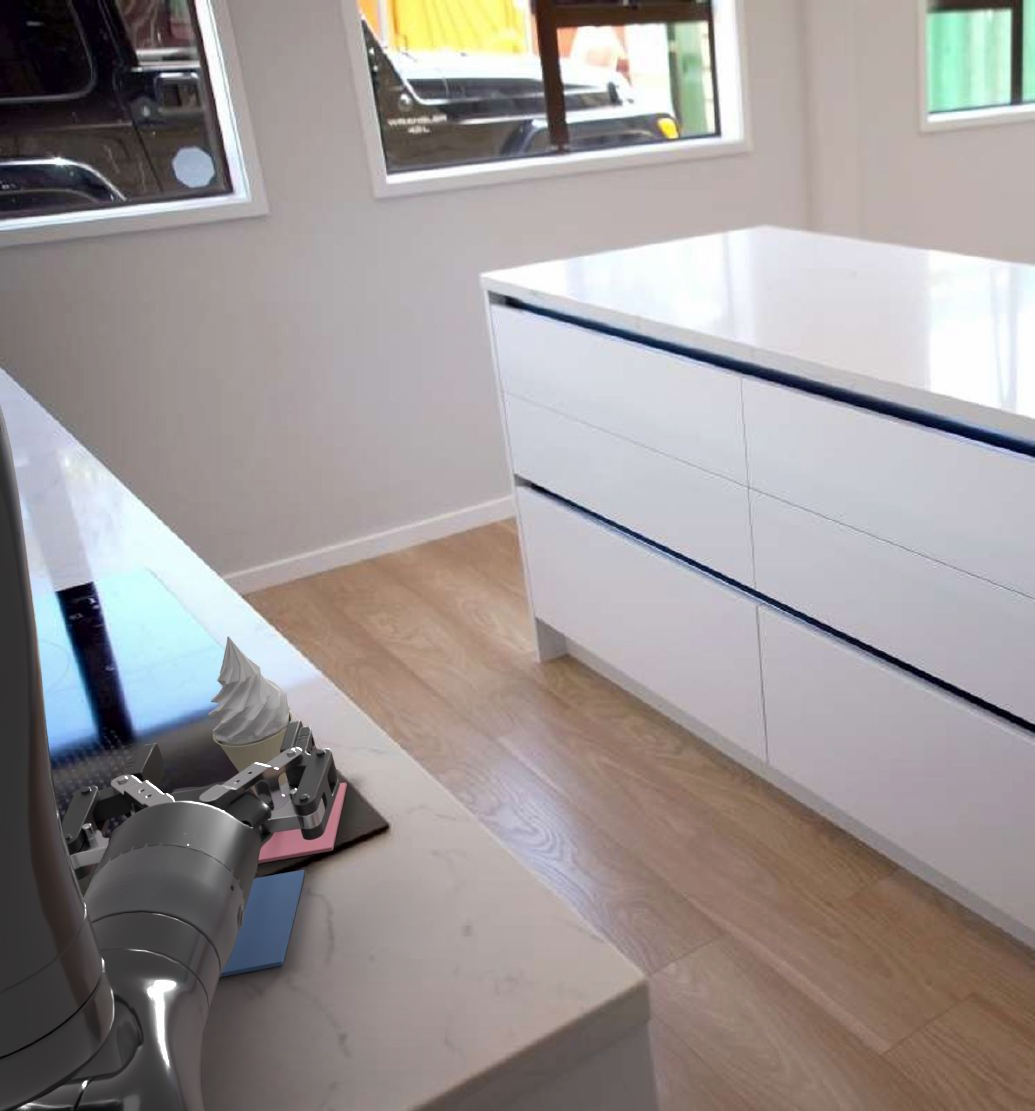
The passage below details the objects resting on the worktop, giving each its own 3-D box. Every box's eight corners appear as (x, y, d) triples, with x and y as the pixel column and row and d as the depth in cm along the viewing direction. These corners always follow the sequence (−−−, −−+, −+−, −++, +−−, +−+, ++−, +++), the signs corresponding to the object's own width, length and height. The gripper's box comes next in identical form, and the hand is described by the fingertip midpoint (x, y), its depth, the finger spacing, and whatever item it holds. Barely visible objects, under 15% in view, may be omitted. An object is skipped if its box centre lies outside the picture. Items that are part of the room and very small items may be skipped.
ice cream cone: (262, 856, 85) (204, 662, 79) (230, 827, 88) (172, 638, 82) (332, 820, 89) (282, 631, 82) (299, 794, 92) (248, 610, 86)
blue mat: (103, 999, 74) (101, 995, 74) (143, 901, 82) (142, 898, 82) (282, 965, 76) (281, 961, 76) (305, 873, 84) (304, 869, 84)
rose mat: (207, 872, 84) (206, 869, 84) (231, 804, 92) (231, 801, 91) (332, 850, 86) (331, 847, 86) (347, 785, 93) (346, 782, 93)
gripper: (292, 824, 65) (332, 674, 79) (-11, 877, 62) (87, 711, 77) (324, 939, 68) (357, 774, 82) (36, 993, 65) (123, 813, 80)
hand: (227, 744), depth 80 cm, fingers open, 8 cm apart
